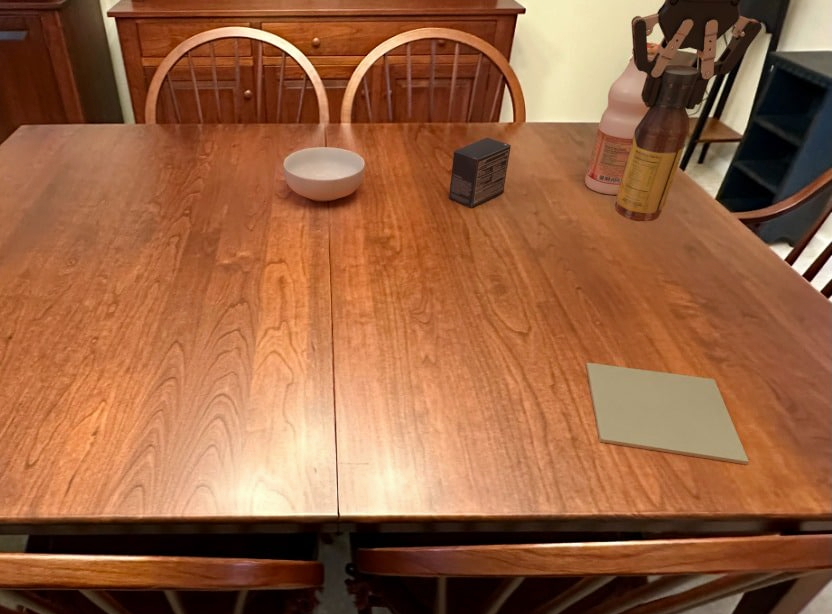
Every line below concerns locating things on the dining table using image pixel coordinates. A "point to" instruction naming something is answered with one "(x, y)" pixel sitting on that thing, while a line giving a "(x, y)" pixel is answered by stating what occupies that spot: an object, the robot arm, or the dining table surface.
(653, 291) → the dining table surface
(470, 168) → the small box
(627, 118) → the fruit juice
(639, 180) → the sauce bottle
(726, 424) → the mat
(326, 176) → the cereal bowl
